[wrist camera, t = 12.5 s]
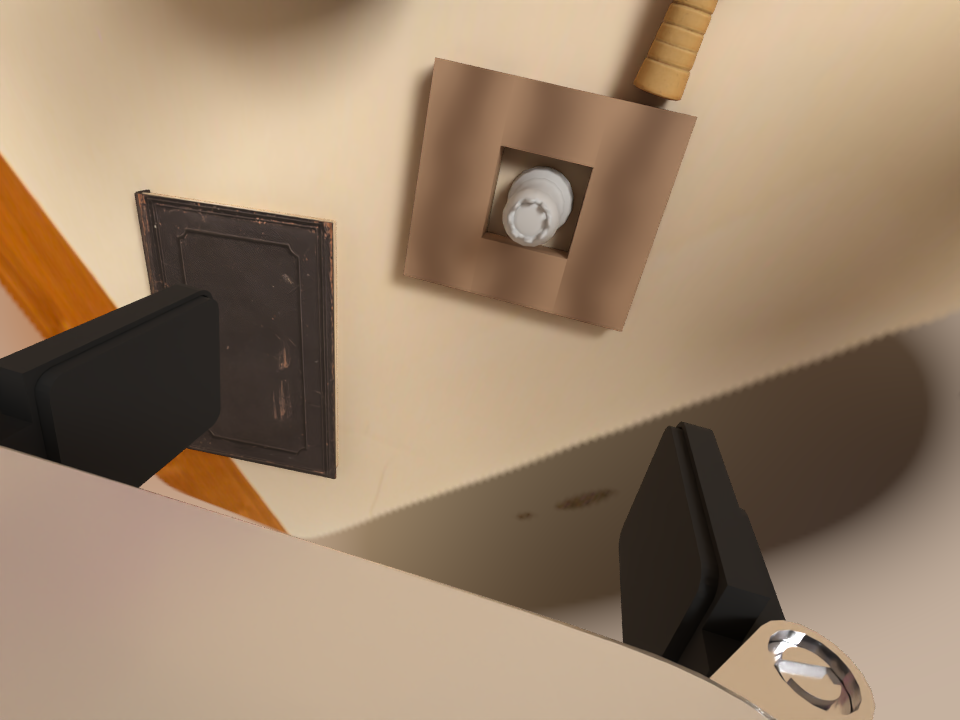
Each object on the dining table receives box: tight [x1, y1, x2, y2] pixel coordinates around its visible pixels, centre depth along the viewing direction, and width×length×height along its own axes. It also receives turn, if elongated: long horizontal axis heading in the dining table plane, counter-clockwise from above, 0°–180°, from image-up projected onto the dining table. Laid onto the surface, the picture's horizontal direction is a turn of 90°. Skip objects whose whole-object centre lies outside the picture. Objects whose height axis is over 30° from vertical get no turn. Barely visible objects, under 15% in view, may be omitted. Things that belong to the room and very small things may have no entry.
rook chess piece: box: [503, 166, 574, 247], centre depth 34 cm, size 4×4×8 cm
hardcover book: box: [135, 190, 338, 479], centre depth 46 cm, size 16×23×2 cm
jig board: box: [403, 57, 697, 332], centre depth 37 cm, size 16×14×2 cm
